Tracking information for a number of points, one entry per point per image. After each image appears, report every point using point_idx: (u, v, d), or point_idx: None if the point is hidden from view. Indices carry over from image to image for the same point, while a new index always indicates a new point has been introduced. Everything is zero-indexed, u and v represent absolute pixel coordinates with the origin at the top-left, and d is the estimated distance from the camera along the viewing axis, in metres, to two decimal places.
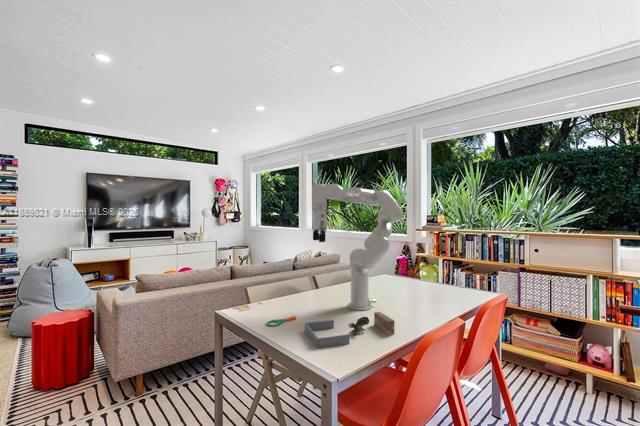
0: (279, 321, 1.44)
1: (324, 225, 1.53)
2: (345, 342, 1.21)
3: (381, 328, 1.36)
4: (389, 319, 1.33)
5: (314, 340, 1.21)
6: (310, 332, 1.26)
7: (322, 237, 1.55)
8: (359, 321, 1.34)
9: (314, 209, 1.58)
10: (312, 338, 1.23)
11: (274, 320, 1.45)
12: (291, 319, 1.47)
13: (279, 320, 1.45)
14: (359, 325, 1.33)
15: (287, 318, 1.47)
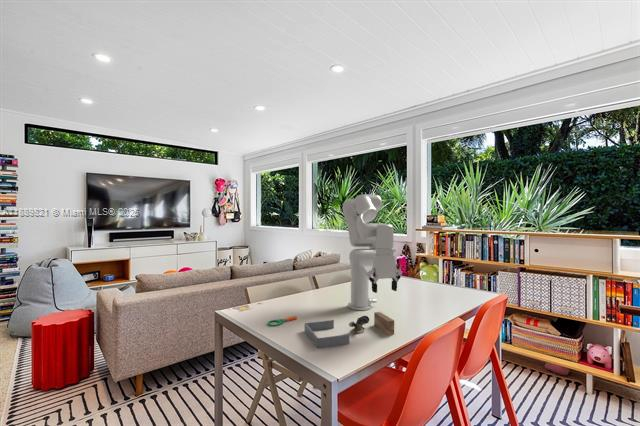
0: (280, 321, 1.44)
1: (401, 271, 1.39)
2: (345, 342, 1.21)
3: (381, 328, 1.36)
4: (389, 319, 1.33)
5: (314, 340, 1.21)
6: (310, 332, 1.26)
7: None
8: (359, 320, 1.35)
9: (392, 254, 1.34)
10: (312, 338, 1.23)
11: (275, 320, 1.45)
12: (292, 319, 1.47)
13: (280, 320, 1.45)
14: (359, 324, 1.34)
15: (288, 318, 1.47)
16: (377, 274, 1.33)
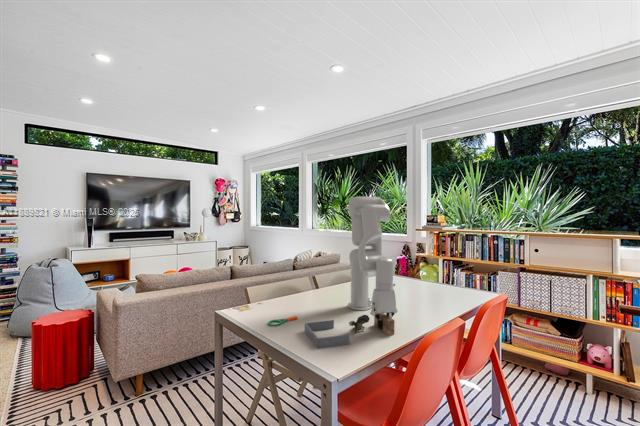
0: (280, 321, 1.44)
1: (396, 310, 1.39)
2: (345, 342, 1.21)
3: None
4: (389, 319, 1.33)
5: (314, 340, 1.21)
6: (310, 332, 1.26)
7: None
8: (359, 319, 1.36)
9: (391, 289, 1.34)
10: (312, 338, 1.23)
11: (275, 320, 1.46)
12: (292, 319, 1.48)
13: (280, 320, 1.45)
14: (359, 323, 1.35)
15: (288, 318, 1.47)
16: (377, 309, 1.33)
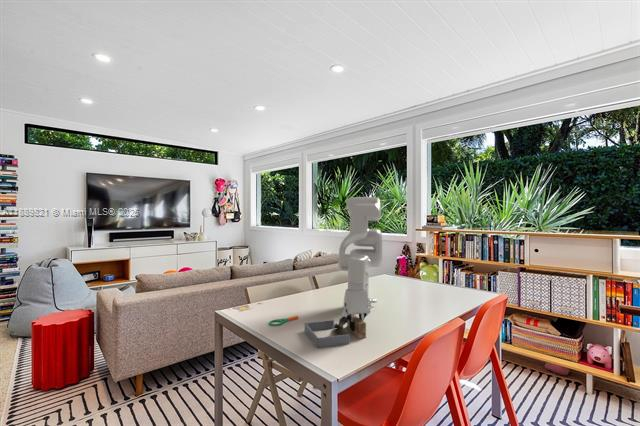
0: (281, 320, 1.44)
1: (369, 311, 1.34)
2: (345, 342, 1.21)
3: (353, 331, 1.32)
4: (361, 322, 1.29)
5: (314, 340, 1.21)
6: (310, 332, 1.26)
7: None
8: (340, 321, 1.33)
9: (363, 289, 1.30)
10: (312, 338, 1.23)
11: (277, 319, 1.46)
12: (293, 319, 1.48)
13: (281, 319, 1.46)
14: (341, 325, 1.32)
15: (289, 318, 1.47)
16: (348, 310, 1.29)
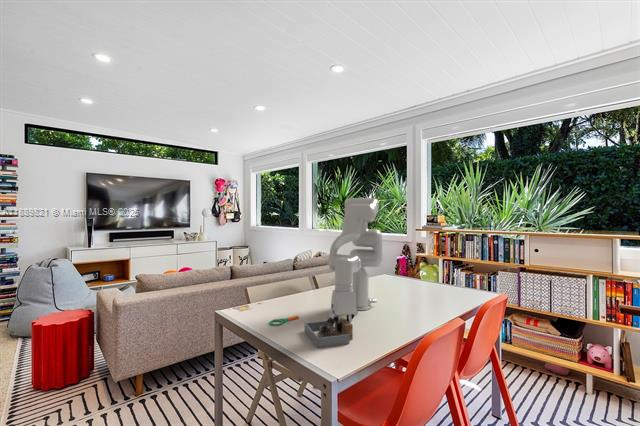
0: (282, 320, 1.45)
1: (357, 312, 1.33)
2: (345, 342, 1.21)
3: (340, 333, 1.30)
4: (347, 323, 1.27)
5: (314, 340, 1.21)
6: (310, 332, 1.26)
7: None
8: (327, 322, 1.32)
9: (351, 290, 1.28)
10: (312, 338, 1.23)
11: (277, 319, 1.46)
12: (294, 318, 1.48)
13: (282, 319, 1.46)
14: (328, 326, 1.31)
15: (290, 317, 1.48)
16: (335, 311, 1.27)
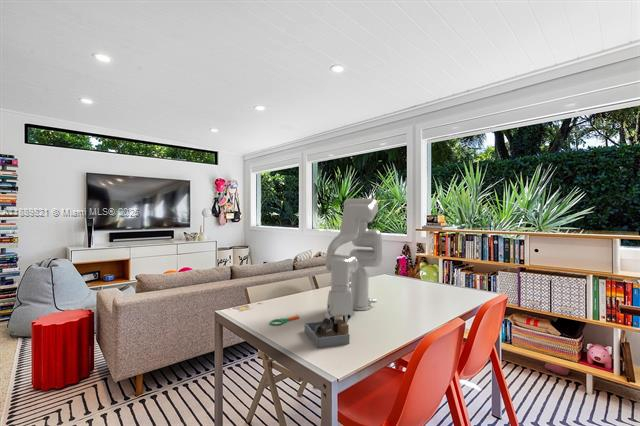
0: (282, 320, 1.45)
1: (354, 313, 1.32)
2: (345, 342, 1.21)
3: (336, 333, 1.29)
4: (343, 324, 1.26)
5: (314, 340, 1.21)
6: (310, 332, 1.26)
7: None
8: (323, 322, 1.32)
9: (347, 291, 1.28)
10: (312, 338, 1.23)
11: (277, 319, 1.46)
12: (294, 318, 1.48)
13: (282, 319, 1.46)
14: (323, 326, 1.31)
15: (290, 317, 1.48)
16: (331, 312, 1.27)
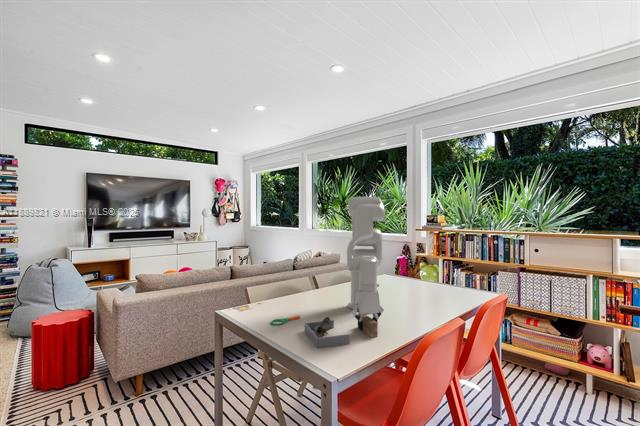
0: (283, 320, 1.45)
1: (383, 309, 1.36)
2: (345, 342, 1.21)
3: (364, 330, 1.33)
4: (372, 321, 1.30)
5: (314, 340, 1.21)
6: (310, 332, 1.26)
7: None
8: (323, 322, 1.32)
9: (375, 290, 1.32)
10: (312, 338, 1.23)
11: (278, 319, 1.46)
12: (295, 318, 1.49)
13: (283, 319, 1.46)
14: (324, 326, 1.31)
15: (291, 317, 1.48)
16: (360, 310, 1.31)
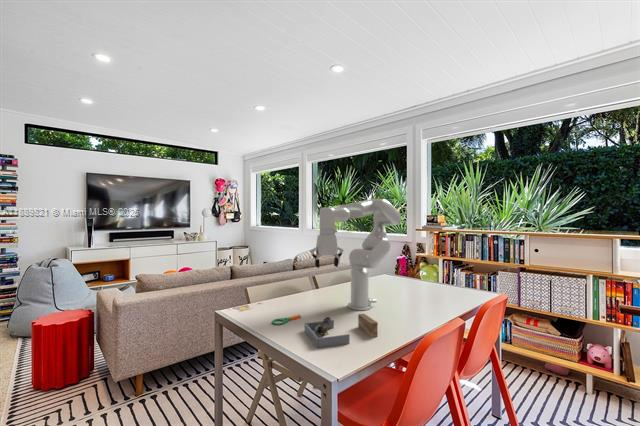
0: (284, 320, 1.46)
1: (342, 249, 1.57)
2: (345, 342, 1.21)
3: (364, 330, 1.33)
4: (372, 321, 1.30)
5: (314, 340, 1.21)
6: (310, 332, 1.26)
7: None
8: (323, 322, 1.32)
9: (332, 234, 1.52)
10: (312, 338, 1.23)
11: (279, 319, 1.47)
12: (296, 318, 1.49)
13: (284, 319, 1.47)
14: (324, 326, 1.31)
15: (292, 317, 1.49)
16: (319, 251, 1.51)
